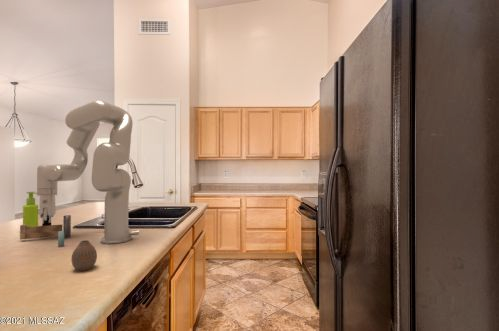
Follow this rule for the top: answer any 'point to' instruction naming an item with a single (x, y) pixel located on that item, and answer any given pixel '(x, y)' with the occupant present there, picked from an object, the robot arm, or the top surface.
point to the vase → (84, 256)
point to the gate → (39, 231)
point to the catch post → (60, 238)
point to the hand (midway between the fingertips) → (46, 231)
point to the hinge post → (67, 226)
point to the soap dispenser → (30, 211)
